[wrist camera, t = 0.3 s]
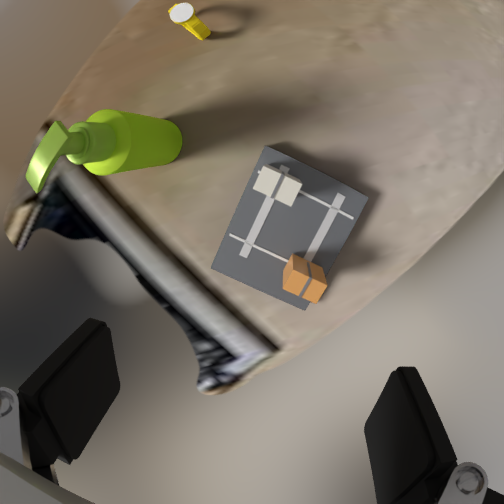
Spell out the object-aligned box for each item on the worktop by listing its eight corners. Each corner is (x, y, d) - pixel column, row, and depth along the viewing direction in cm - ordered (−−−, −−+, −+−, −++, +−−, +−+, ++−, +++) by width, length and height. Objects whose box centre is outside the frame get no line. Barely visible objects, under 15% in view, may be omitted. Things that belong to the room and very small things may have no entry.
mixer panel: (266, 145, 33) (265, 145, 32) (364, 195, 34) (368, 197, 32) (214, 262, 39) (210, 268, 37) (304, 303, 39) (305, 311, 37)
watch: (219, 34, 30) (210, 18, 24) (202, 49, 30) (190, 35, 25) (187, 10, 28) (174, -8, 23) (172, 24, 29) (156, 8, 23)
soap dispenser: (126, 149, 35) (10, 161, 16) (161, 110, 33) (53, 86, 14) (154, 180, 36) (45, 214, 17) (191, 141, 34) (95, 138, 15)
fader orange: (292, 252, 35) (293, 269, 30) (322, 267, 35) (327, 285, 30) (282, 270, 36) (282, 289, 31) (312, 284, 36) (316, 304, 31)
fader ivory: (266, 163, 32) (263, 165, 27) (299, 179, 32) (302, 183, 27) (257, 183, 33) (252, 189, 28) (290, 199, 33) (291, 207, 28)
